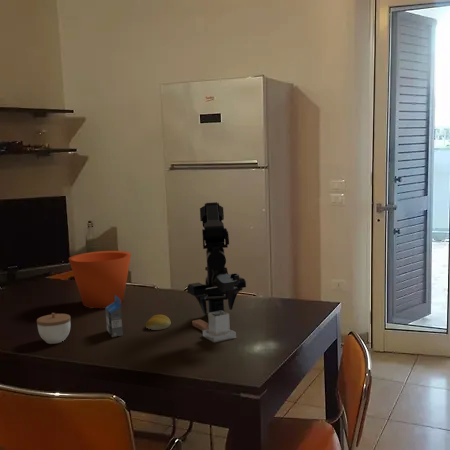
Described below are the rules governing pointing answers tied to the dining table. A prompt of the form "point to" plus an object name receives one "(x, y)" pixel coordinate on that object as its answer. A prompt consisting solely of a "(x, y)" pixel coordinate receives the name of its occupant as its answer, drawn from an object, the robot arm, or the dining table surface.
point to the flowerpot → (101, 276)
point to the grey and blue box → (114, 318)
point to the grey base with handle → (211, 336)
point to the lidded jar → (54, 327)
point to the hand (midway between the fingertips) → (218, 311)
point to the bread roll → (158, 322)
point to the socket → (218, 322)
